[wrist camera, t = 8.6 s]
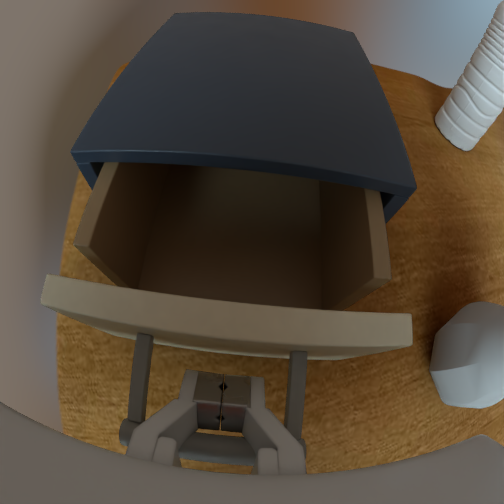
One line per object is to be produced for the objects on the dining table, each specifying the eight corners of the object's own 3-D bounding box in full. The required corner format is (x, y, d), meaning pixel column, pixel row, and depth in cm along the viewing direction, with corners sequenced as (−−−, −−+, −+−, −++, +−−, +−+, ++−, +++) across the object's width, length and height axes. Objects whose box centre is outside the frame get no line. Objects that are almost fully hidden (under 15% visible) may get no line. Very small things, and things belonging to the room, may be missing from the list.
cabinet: (341, 269, 19) (418, 188, 10) (128, 246, 18) (68, 151, 10) (326, 112, 26) (353, 32, 17) (181, 96, 25) (174, 13, 16)
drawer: (331, 436, 14) (403, 471, 7) (104, 411, 13) (25, 427, 6) (330, 156, 22) (362, 80, 15) (166, 138, 21) (151, 57, 14)
